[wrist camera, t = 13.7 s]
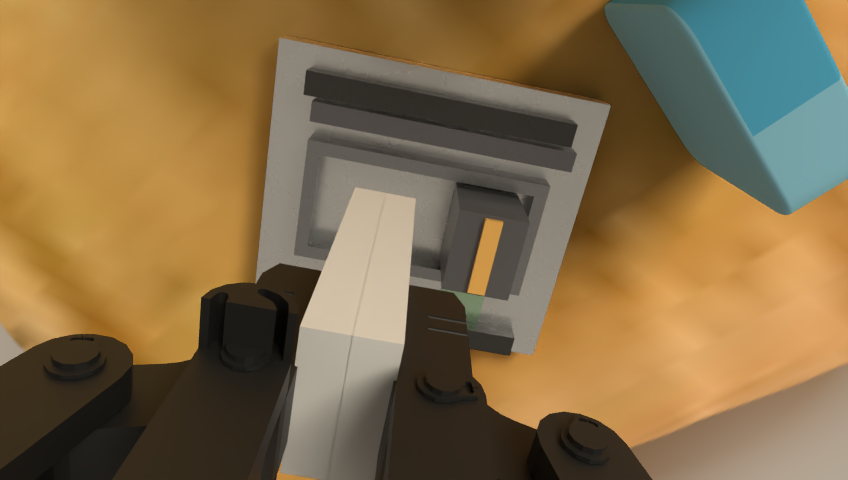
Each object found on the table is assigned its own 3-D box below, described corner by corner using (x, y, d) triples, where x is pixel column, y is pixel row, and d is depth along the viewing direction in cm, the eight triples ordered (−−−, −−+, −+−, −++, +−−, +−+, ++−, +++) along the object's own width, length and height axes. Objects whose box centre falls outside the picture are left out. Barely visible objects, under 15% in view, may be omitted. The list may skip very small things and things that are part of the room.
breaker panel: (287, 35, 36) (272, 39, 33) (602, 100, 37) (618, 110, 34) (260, 292, 43) (246, 317, 40) (528, 340, 44) (536, 368, 41)
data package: (756, 118, 38) (891, 170, 27) (692, 161, 39) (796, 227, 28) (663, -46, 34) (774, -66, 23) (596, 5, 35) (671, 10, 24)
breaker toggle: (456, 182, 37) (460, 211, 32) (517, 194, 38) (530, 224, 33) (440, 254, 39) (441, 291, 34) (498, 265, 39) (508, 303, 34)
